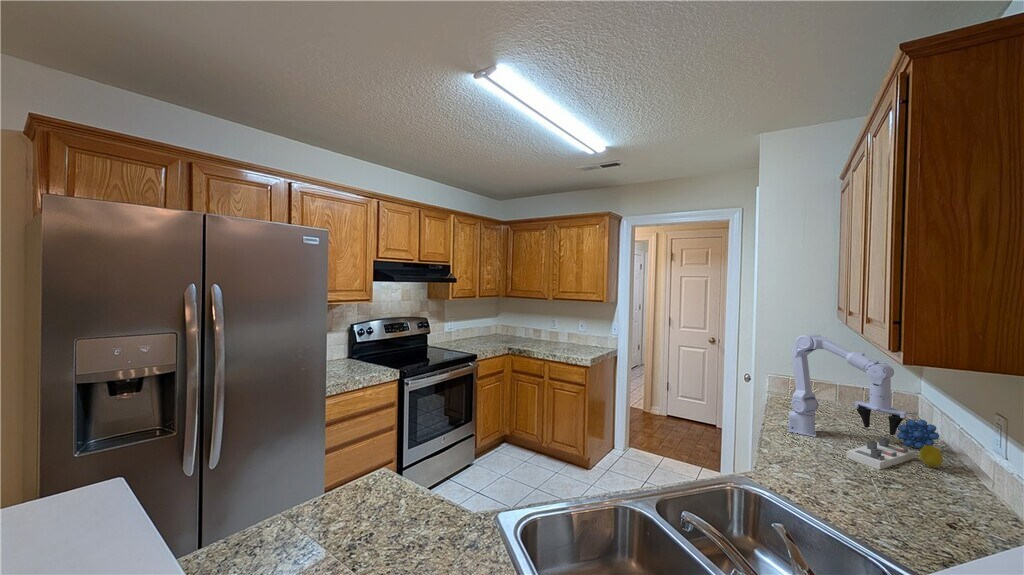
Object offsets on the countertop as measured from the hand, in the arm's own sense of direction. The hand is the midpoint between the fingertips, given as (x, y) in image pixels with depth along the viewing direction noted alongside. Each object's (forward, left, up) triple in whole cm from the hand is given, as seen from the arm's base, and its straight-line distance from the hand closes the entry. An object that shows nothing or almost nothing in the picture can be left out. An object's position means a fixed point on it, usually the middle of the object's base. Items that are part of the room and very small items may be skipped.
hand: (879, 430), depth 143 cm
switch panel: (0, 0, -10) cm, 10 cm away
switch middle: (-2, +1, -8) cm, 8 cm away
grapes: (+14, +21, -11) cm, 27 cm away
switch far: (+2, +8, -8) cm, 11 cm away
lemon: (+14, +1, -11) cm, 17 cm away
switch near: (-2, -8, -8) cm, 11 cm away
